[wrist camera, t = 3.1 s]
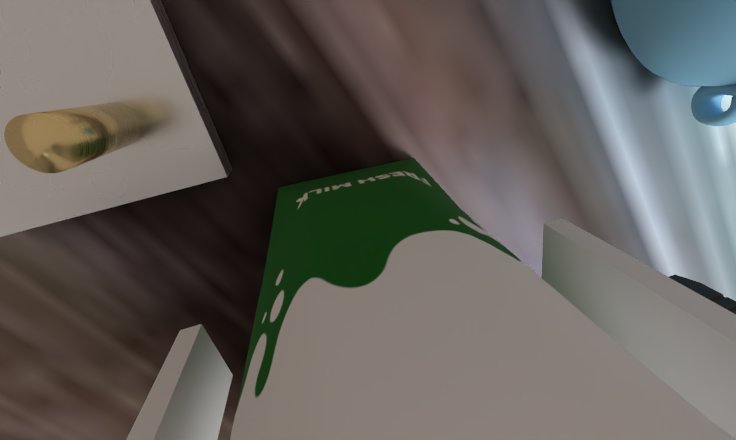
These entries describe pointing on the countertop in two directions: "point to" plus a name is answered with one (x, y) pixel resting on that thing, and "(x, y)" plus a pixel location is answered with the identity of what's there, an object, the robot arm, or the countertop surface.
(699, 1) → the teapot
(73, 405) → the countertop surface
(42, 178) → the white flat square slab
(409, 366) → the milk carton
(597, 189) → the countertop surface
